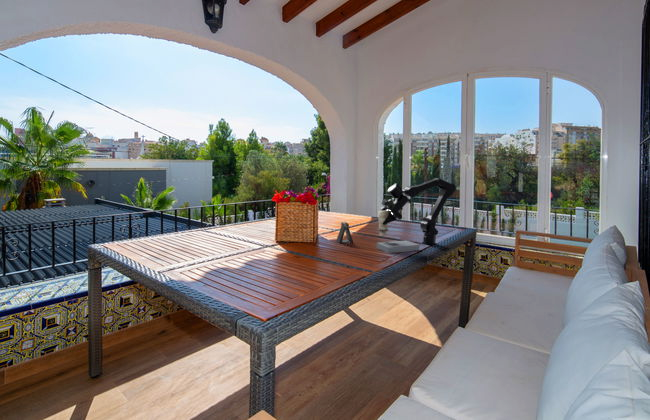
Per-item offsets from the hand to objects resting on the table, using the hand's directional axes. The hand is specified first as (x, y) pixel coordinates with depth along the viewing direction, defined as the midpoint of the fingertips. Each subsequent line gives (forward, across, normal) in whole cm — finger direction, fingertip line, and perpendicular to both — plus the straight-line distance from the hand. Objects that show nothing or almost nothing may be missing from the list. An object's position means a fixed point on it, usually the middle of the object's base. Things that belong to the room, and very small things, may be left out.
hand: (381, 223), depth 202 cm
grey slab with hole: (+5, +8, +14) cm, 17 cm away
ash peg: (+4, 0, +6) cm, 7 cm away
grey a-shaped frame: (+21, -16, -2) cm, 27 cm away
